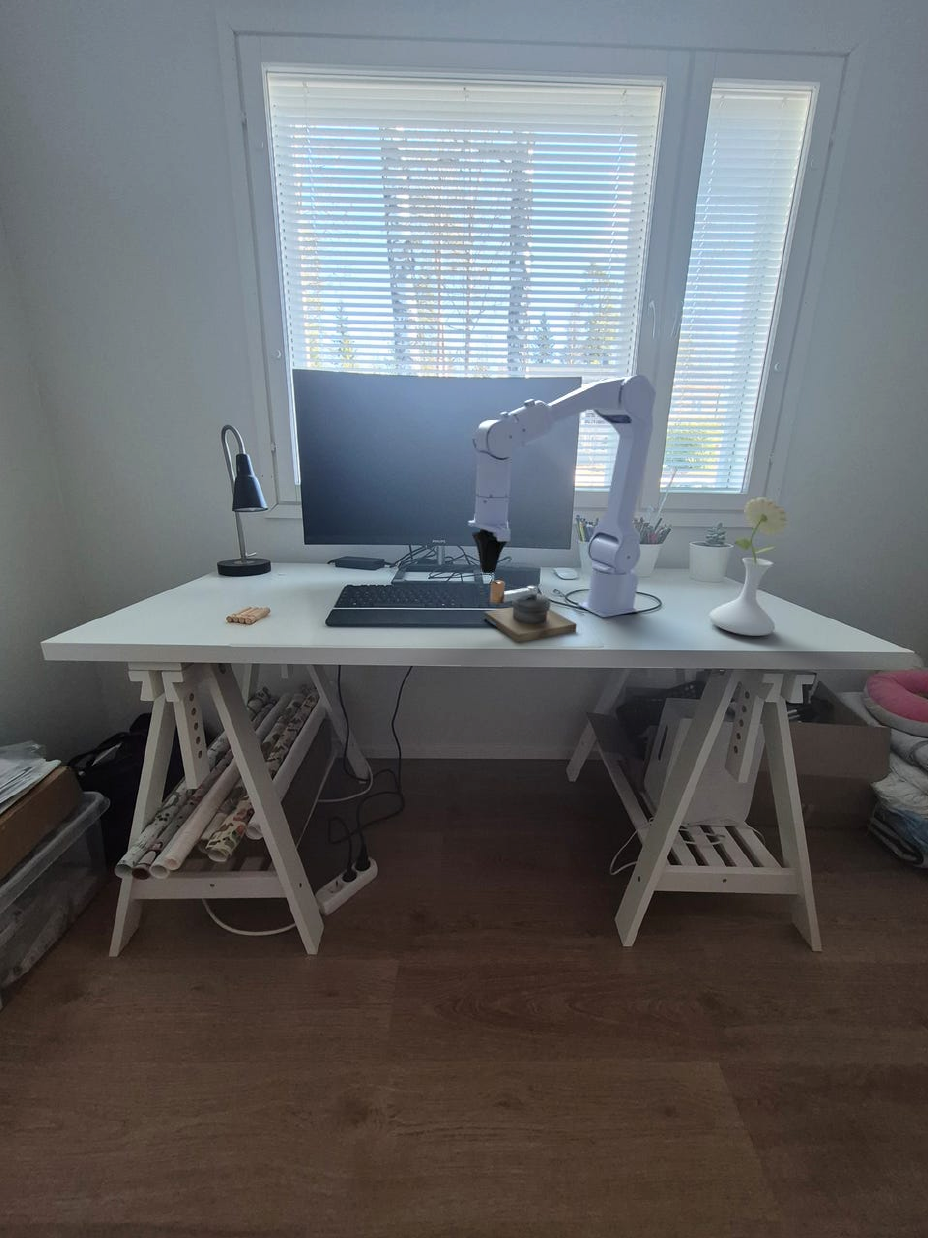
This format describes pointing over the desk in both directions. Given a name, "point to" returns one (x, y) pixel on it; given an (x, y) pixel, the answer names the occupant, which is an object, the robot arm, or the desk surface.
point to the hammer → (510, 593)
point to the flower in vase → (752, 575)
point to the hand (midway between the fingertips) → (487, 572)
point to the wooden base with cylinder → (530, 619)
